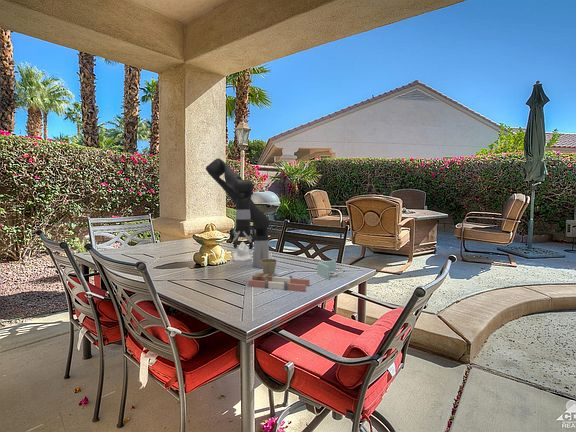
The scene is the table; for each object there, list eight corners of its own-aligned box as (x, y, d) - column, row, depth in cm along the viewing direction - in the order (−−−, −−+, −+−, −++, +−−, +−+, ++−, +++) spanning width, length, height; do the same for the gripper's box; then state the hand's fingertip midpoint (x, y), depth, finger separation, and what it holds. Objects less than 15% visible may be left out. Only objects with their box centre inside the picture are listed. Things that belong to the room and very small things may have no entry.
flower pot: (280, 274, 179) (279, 259, 178) (272, 278, 170) (272, 263, 169) (265, 272, 183) (265, 258, 182) (257, 276, 174) (257, 261, 173)
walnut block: (252, 285, 159) (252, 276, 159) (257, 282, 165) (256, 272, 164) (264, 286, 157) (264, 277, 157) (269, 283, 163) (269, 274, 162)
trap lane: (247, 286, 157) (247, 278, 156) (255, 280, 168) (255, 272, 167) (305, 292, 149) (305, 283, 148) (309, 284, 160) (309, 277, 159)
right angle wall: (327, 280, 168) (328, 267, 168) (317, 274, 179) (317, 262, 179) (346, 278, 173) (346, 265, 172) (334, 272, 184) (335, 260, 183)
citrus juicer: (256, 261, 214) (258, 243, 210) (239, 267, 204) (241, 248, 199) (245, 254, 222) (247, 236, 217) (228, 260, 211) (229, 241, 207)
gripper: (227, 218, 159) (227, 249, 160) (252, 219, 155) (252, 250, 156) (234, 216, 166) (234, 246, 167) (258, 217, 162) (258, 248, 163)
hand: (243, 248), depth 162 cm, fingers open, 8 cm apart
